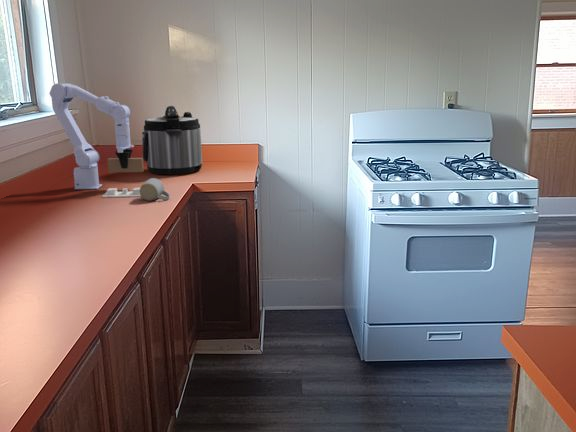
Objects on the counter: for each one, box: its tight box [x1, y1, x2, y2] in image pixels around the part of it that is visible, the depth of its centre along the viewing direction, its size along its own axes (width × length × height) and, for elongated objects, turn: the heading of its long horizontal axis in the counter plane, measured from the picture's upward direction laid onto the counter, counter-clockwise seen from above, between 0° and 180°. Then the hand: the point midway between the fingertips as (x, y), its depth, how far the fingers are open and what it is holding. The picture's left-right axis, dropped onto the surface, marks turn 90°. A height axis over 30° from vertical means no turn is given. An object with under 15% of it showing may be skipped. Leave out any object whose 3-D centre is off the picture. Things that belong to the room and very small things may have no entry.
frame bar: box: [106, 157, 145, 173], centre depth 227 cm, size 14×3×6 cm, turn 94°
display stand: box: [101, 187, 142, 199], centre depth 217 cm, size 16×8×2 cm, turn 94°
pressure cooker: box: [141, 105, 203, 176], centre depth 265 cm, size 30×28×32 cm
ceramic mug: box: [139, 177, 171, 202], centre depth 209 cm, size 11×8×8 cm
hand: (125, 167), depth 227 cm, fingers closed on frame bar, 3 cm apart
